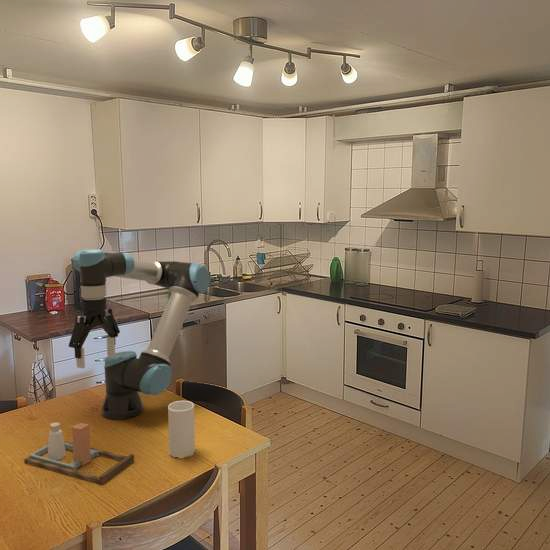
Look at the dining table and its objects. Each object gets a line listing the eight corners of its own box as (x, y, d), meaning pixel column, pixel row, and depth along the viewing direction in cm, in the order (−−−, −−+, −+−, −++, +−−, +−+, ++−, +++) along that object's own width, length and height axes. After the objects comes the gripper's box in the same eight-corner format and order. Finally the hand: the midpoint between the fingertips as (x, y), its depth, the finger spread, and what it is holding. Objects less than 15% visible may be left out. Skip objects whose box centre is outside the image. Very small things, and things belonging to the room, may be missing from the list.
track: (134, 461, 159) (133, 454, 159) (103, 484, 146) (102, 477, 146) (59, 443, 171) (59, 436, 170) (24, 462, 158) (24, 455, 158)
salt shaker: (48, 462, 159) (46, 429, 157) (47, 454, 163) (45, 422, 162) (66, 458, 161) (65, 425, 159) (65, 450, 166) (63, 418, 164)
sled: (98, 455, 162) (97, 420, 160) (74, 471, 153) (71, 434, 151) (55, 444, 169) (53, 410, 167) (29, 459, 160) (26, 423, 158)
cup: (170, 446, 169) (169, 400, 167) (195, 445, 170) (194, 400, 167) (167, 458, 161) (166, 411, 159) (194, 458, 162) (193, 410, 159)
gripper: (112, 290, 176) (114, 349, 179) (53, 303, 153) (57, 371, 156) (129, 292, 173) (131, 352, 176) (72, 305, 150) (75, 374, 153)
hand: (96, 361), depth 166 cm, fingers open, 13 cm apart
